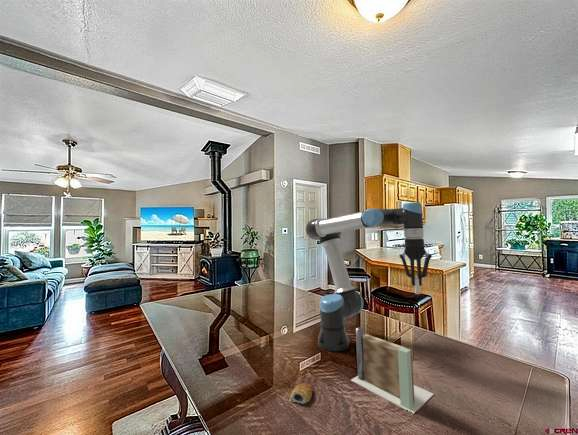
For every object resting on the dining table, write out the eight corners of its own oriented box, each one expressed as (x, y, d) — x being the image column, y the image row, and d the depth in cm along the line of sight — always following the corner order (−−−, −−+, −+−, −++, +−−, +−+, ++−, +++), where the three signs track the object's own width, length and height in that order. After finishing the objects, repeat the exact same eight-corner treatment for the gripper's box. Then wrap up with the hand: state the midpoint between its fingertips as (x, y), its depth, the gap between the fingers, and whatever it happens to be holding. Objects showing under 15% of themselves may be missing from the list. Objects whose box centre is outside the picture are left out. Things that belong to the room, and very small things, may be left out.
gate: (364, 379, 99) (362, 334, 99) (367, 378, 100) (365, 333, 100) (412, 403, 85) (409, 351, 85) (414, 401, 86) (411, 349, 86)
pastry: (299, 386, 98) (299, 375, 98) (317, 390, 95) (316, 379, 95) (289, 402, 90) (288, 390, 90) (307, 407, 87) (307, 395, 87)
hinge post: (356, 378, 101) (354, 328, 102) (360, 375, 103) (358, 326, 103) (362, 381, 99) (360, 330, 100) (367, 378, 101) (364, 328, 101)
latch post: (400, 406, 85) (397, 349, 86) (404, 402, 86) (401, 347, 87) (409, 410, 83) (406, 352, 83) (413, 407, 84) (410, 350, 85)
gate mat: (350, 380, 100) (350, 379, 100) (372, 367, 109) (372, 366, 109) (413, 414, 81) (413, 413, 81) (433, 394, 90) (433, 393, 90)
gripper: (398, 239, 112) (401, 295, 112) (432, 238, 109) (436, 296, 108) (396, 238, 120) (399, 290, 119) (428, 237, 116) (431, 291, 115)
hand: (417, 293), depth 113 cm, fingers closed
